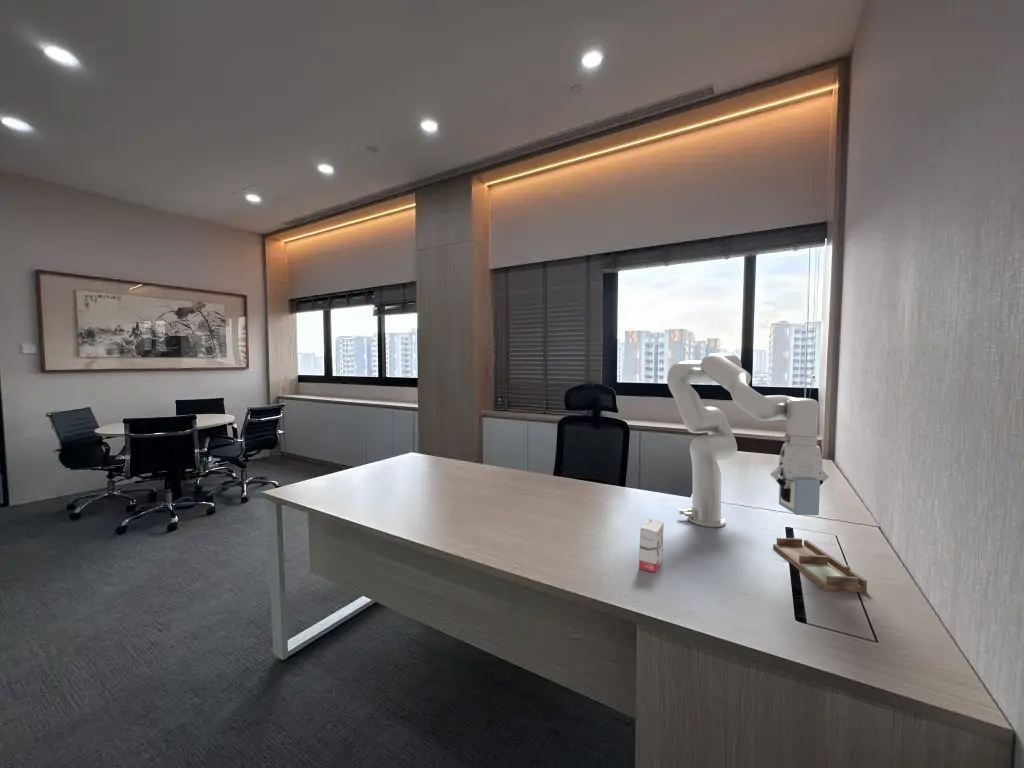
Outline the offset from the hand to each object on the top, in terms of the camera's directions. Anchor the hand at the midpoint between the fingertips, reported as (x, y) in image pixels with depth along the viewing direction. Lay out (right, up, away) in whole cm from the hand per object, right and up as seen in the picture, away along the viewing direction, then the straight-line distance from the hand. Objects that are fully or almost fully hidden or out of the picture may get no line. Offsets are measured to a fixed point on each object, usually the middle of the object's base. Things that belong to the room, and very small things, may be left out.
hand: (798, 500), depth 122 cm
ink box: (-44, -18, -2) cm, 48 cm away
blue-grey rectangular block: (0, -3, 0) cm, 3 cm away
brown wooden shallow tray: (+1, -17, -6) cm, 18 cm away
